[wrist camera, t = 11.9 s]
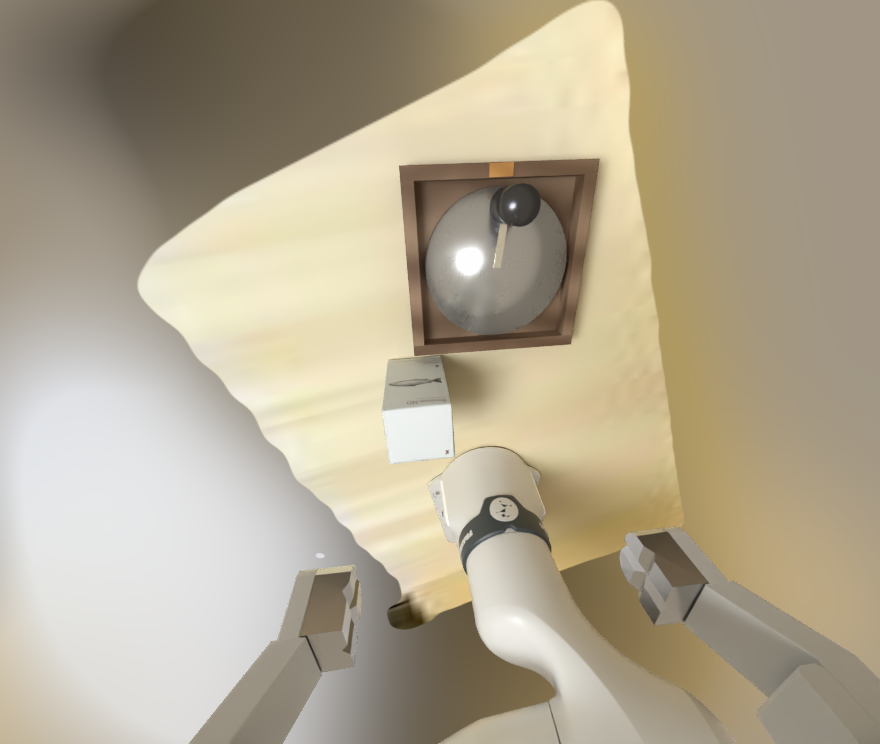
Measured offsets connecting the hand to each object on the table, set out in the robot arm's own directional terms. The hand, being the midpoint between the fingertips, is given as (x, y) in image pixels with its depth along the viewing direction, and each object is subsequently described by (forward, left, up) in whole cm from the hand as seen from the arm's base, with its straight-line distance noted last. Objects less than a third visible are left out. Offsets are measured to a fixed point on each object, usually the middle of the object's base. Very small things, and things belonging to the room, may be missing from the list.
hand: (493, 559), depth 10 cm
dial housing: (+3, -8, -34) cm, 35 cm away
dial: (+3, -8, -33) cm, 34 cm away
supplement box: (-12, +2, -34) cm, 36 cm away
